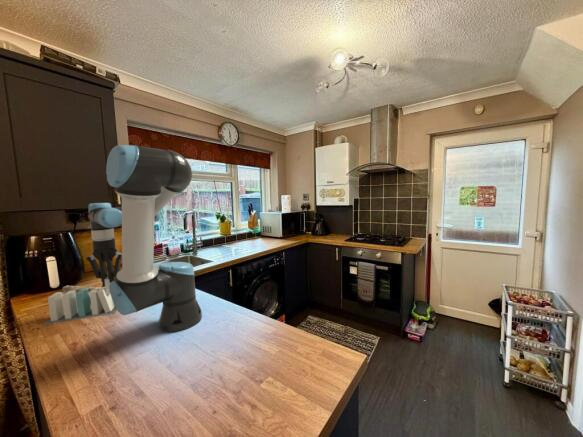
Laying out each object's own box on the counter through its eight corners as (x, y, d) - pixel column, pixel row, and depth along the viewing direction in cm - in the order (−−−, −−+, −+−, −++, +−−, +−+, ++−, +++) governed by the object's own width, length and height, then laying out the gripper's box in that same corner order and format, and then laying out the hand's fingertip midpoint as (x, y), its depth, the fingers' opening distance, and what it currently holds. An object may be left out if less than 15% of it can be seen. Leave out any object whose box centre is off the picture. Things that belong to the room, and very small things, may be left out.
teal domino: (90, 310, 103) (88, 288, 102) (84, 316, 98) (81, 293, 98) (85, 311, 103) (82, 289, 102) (78, 317, 98) (75, 293, 97)
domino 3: (103, 308, 105) (100, 287, 104) (98, 314, 100) (95, 291, 99) (97, 309, 104) (95, 287, 103) (92, 315, 99) (89, 292, 98)
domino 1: (64, 314, 100) (61, 291, 100) (57, 320, 96) (53, 296, 95) (58, 315, 100) (55, 292, 99) (51, 321, 95) (47, 297, 94)
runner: (122, 305, 108) (121, 304, 108) (113, 314, 100) (113, 313, 100) (56, 314, 101) (56, 314, 101) (42, 325, 93) (41, 324, 93)
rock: (41, 292, 110) (79, 281, 124) (45, 311, 110) (82, 298, 124) (76, 290, 102) (111, 279, 116) (80, 311, 102) (115, 297, 117)
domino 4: (115, 306, 106) (107, 285, 104) (110, 311, 101) (102, 290, 100) (110, 307, 105) (102, 287, 104) (105, 313, 101) (96, 291, 99)
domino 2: (77, 312, 102) (75, 290, 101) (71, 318, 97) (68, 294, 96) (72, 313, 101) (69, 291, 100) (65, 319, 97) (62, 295, 96)
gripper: (124, 236, 106) (129, 287, 108) (89, 238, 102) (96, 291, 105) (117, 239, 99) (123, 293, 101) (80, 242, 95) (86, 298, 97)
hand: (109, 292), depth 103 cm, fingers closed
